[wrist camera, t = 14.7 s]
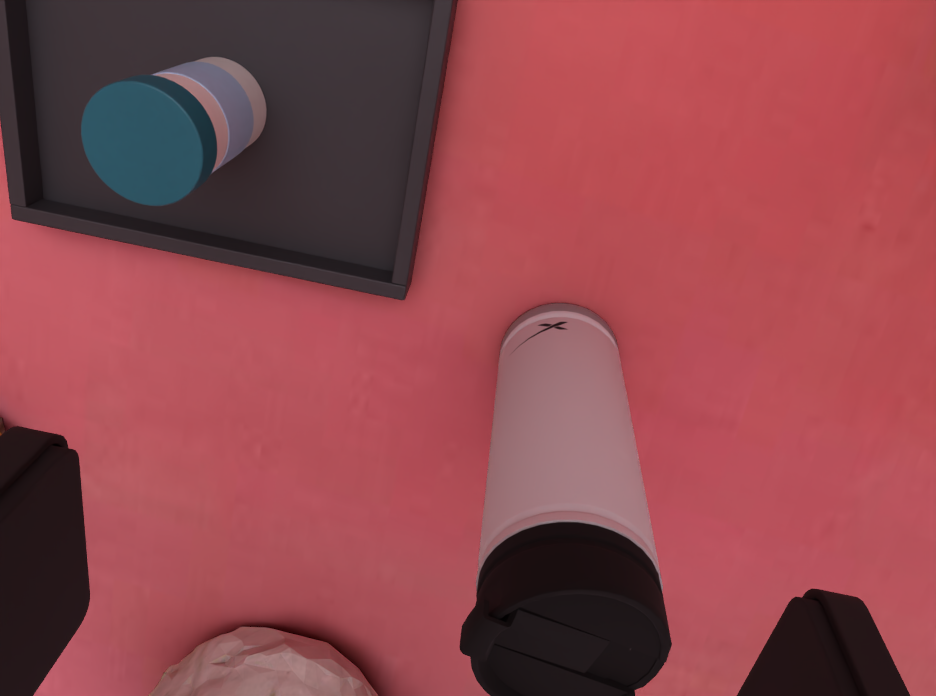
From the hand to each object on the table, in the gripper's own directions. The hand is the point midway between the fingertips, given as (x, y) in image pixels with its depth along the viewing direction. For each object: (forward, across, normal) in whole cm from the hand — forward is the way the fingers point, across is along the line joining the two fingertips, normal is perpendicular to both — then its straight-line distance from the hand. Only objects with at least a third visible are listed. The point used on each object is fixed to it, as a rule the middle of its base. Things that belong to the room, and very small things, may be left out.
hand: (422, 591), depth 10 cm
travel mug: (+28, -5, +11) cm, 31 cm away
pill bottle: (+28, +13, +2) cm, 31 cm away
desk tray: (+28, +13, +2) cm, 31 cm away
